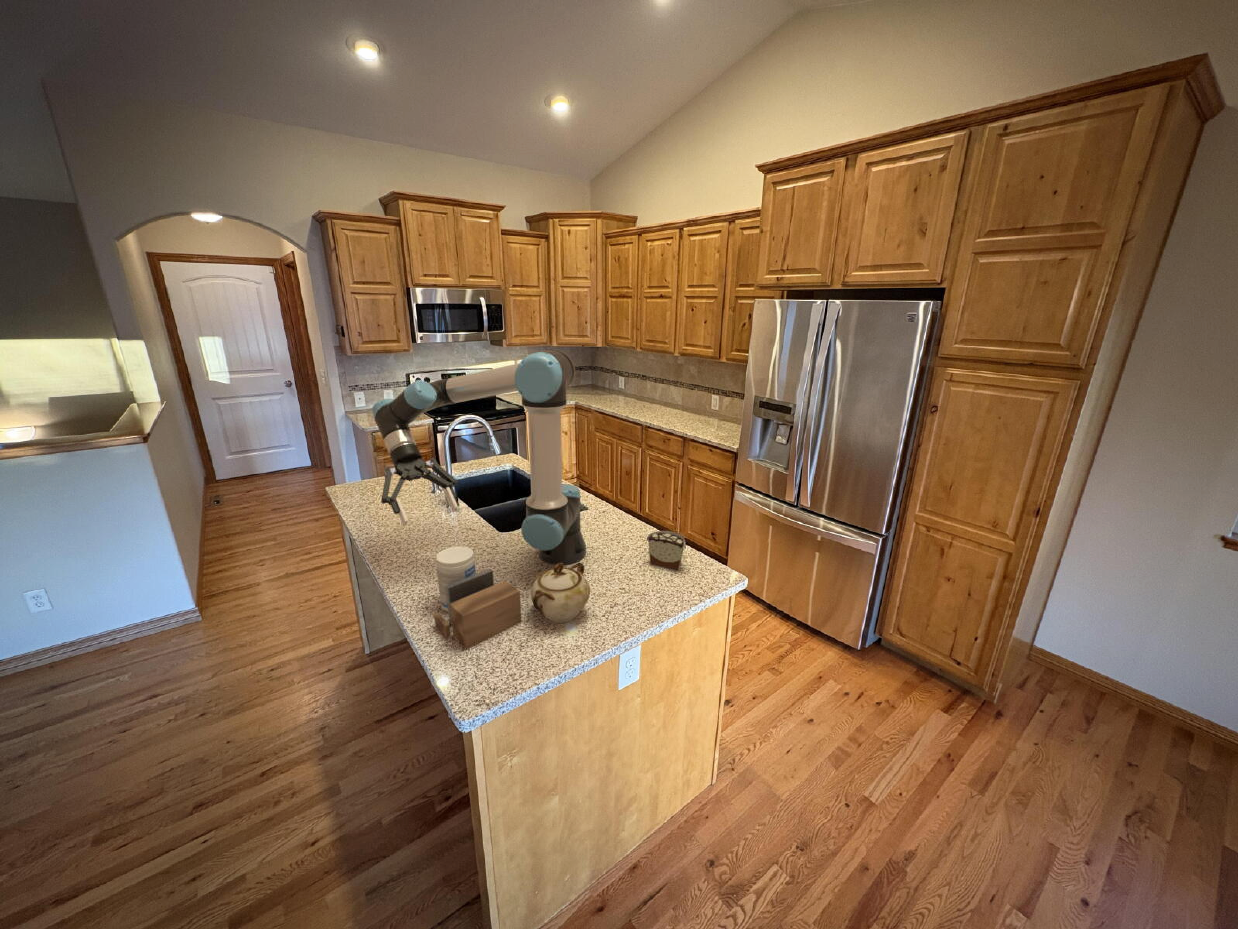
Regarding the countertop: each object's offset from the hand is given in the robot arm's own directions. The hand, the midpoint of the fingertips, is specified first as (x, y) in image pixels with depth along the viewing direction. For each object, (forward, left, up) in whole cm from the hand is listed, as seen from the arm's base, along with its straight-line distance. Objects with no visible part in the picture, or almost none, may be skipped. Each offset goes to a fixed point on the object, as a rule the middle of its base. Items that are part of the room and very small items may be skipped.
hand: (431, 516), depth 129 cm
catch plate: (-11, +15, -21) cm, 28 cm away
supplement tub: (-7, +9, -22) cm, 25 cm away
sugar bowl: (-33, +17, -22) cm, 43 cm away
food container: (-67, -4, -22) cm, 71 cm away
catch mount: (-13, +18, -22) cm, 31 cm away
